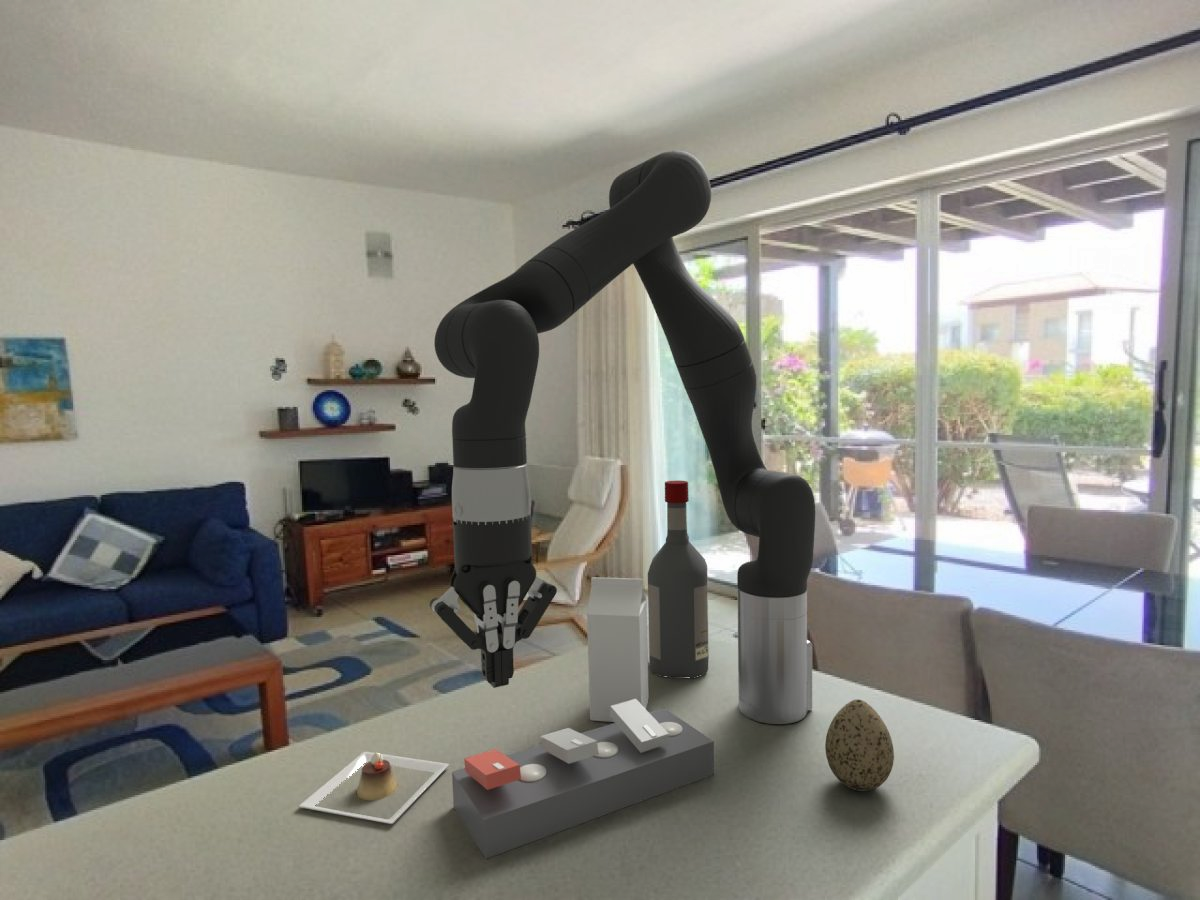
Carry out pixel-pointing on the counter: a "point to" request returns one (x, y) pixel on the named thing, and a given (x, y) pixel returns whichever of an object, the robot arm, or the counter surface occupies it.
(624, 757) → the rocker switch box
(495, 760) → the red rocker
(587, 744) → the middle rocker
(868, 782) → the decorative egg
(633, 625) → the milk carton
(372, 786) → the dessert
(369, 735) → the counter surface
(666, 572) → the liquor
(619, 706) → the far rocker
